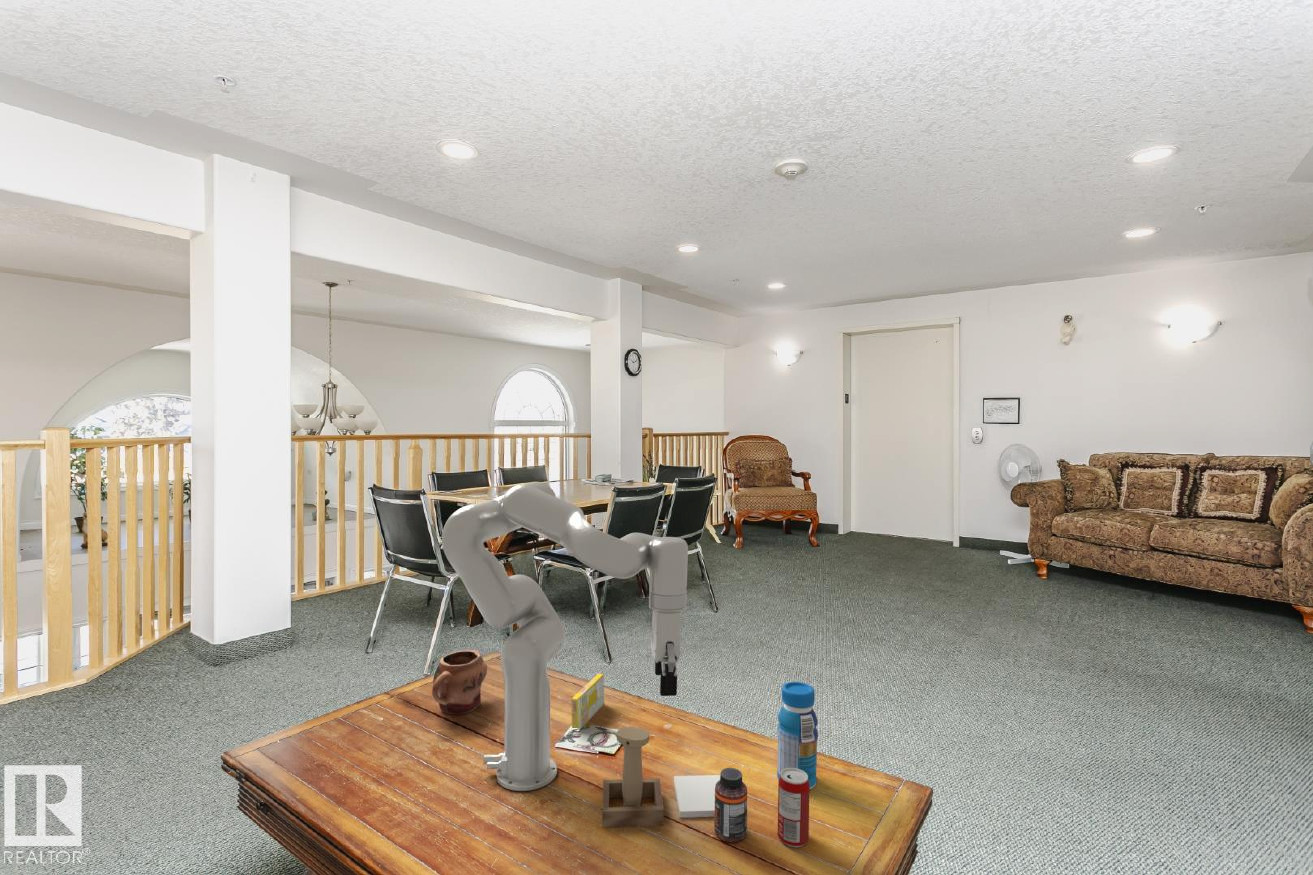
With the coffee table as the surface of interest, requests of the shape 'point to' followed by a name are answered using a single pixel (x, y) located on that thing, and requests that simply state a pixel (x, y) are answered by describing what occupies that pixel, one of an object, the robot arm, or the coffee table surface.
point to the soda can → (793, 807)
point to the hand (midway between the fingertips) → (665, 684)
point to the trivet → (696, 795)
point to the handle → (632, 764)
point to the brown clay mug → (459, 681)
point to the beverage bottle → (798, 730)
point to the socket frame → (632, 814)
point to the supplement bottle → (730, 806)
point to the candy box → (587, 701)
